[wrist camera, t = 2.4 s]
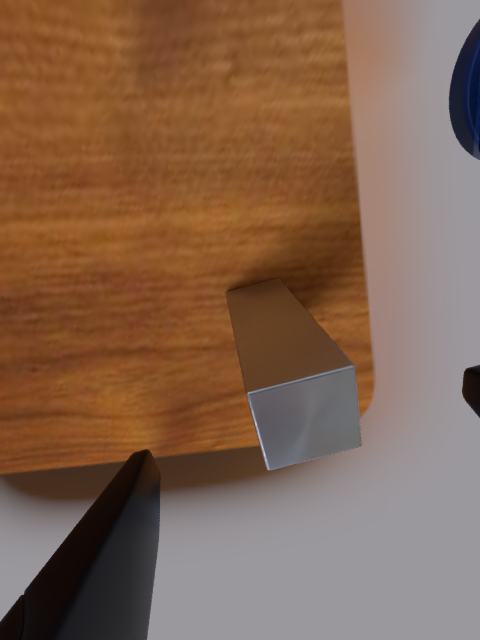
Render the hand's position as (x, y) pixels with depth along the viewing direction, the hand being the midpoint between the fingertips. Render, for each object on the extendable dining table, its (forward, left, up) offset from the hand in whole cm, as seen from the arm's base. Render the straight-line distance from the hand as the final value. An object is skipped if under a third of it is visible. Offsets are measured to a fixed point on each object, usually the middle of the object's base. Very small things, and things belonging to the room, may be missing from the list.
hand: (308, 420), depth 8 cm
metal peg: (0, 0, -9) cm, 9 cm away
